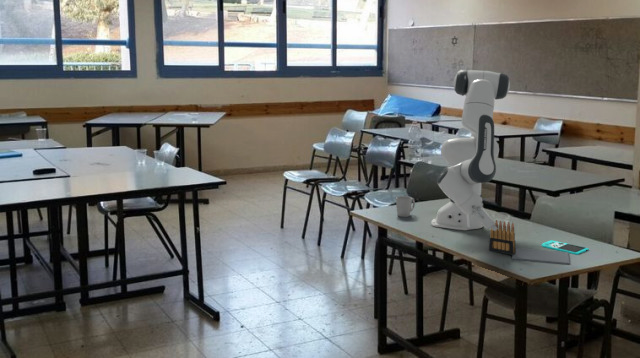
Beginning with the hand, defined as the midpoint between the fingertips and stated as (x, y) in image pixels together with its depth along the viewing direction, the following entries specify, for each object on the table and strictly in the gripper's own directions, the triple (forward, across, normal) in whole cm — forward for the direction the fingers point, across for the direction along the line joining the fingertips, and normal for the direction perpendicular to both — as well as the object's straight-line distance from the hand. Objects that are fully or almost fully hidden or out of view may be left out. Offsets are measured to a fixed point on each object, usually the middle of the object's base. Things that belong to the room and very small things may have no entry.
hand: (495, 229), depth 256 cm
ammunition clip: (+8, 0, +4) cm, 10 cm away
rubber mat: (+18, -4, -5) cm, 19 cm away
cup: (-14, +58, +28) cm, 66 cm away
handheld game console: (+27, +8, -13) cm, 32 cm away
